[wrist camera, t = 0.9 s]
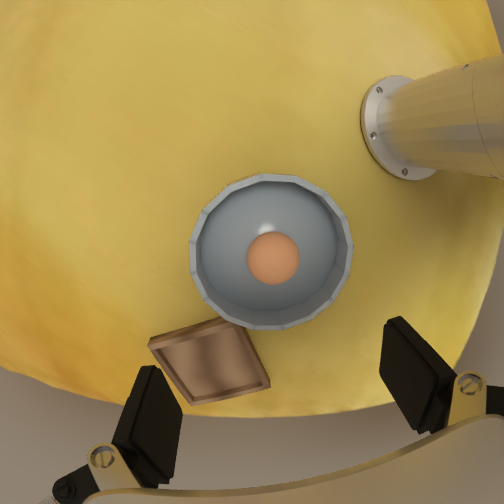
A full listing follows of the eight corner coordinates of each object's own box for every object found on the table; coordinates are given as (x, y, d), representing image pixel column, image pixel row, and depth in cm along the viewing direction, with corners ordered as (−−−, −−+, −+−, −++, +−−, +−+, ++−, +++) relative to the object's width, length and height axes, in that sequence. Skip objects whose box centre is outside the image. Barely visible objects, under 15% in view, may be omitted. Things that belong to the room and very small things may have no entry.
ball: (285, 219, 28) (295, 231, 23) (300, 263, 29) (311, 282, 24) (238, 236, 28) (238, 251, 23) (255, 279, 29) (258, 301, 25)
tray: (237, 311, 32) (237, 319, 30) (269, 378, 35) (270, 387, 34) (150, 337, 32) (147, 345, 31) (192, 397, 36) (191, 406, 34)
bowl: (315, 153, 27) (327, 151, 23) (351, 283, 31) (364, 298, 27) (173, 205, 28) (162, 212, 24) (228, 327, 32) (227, 347, 29)
